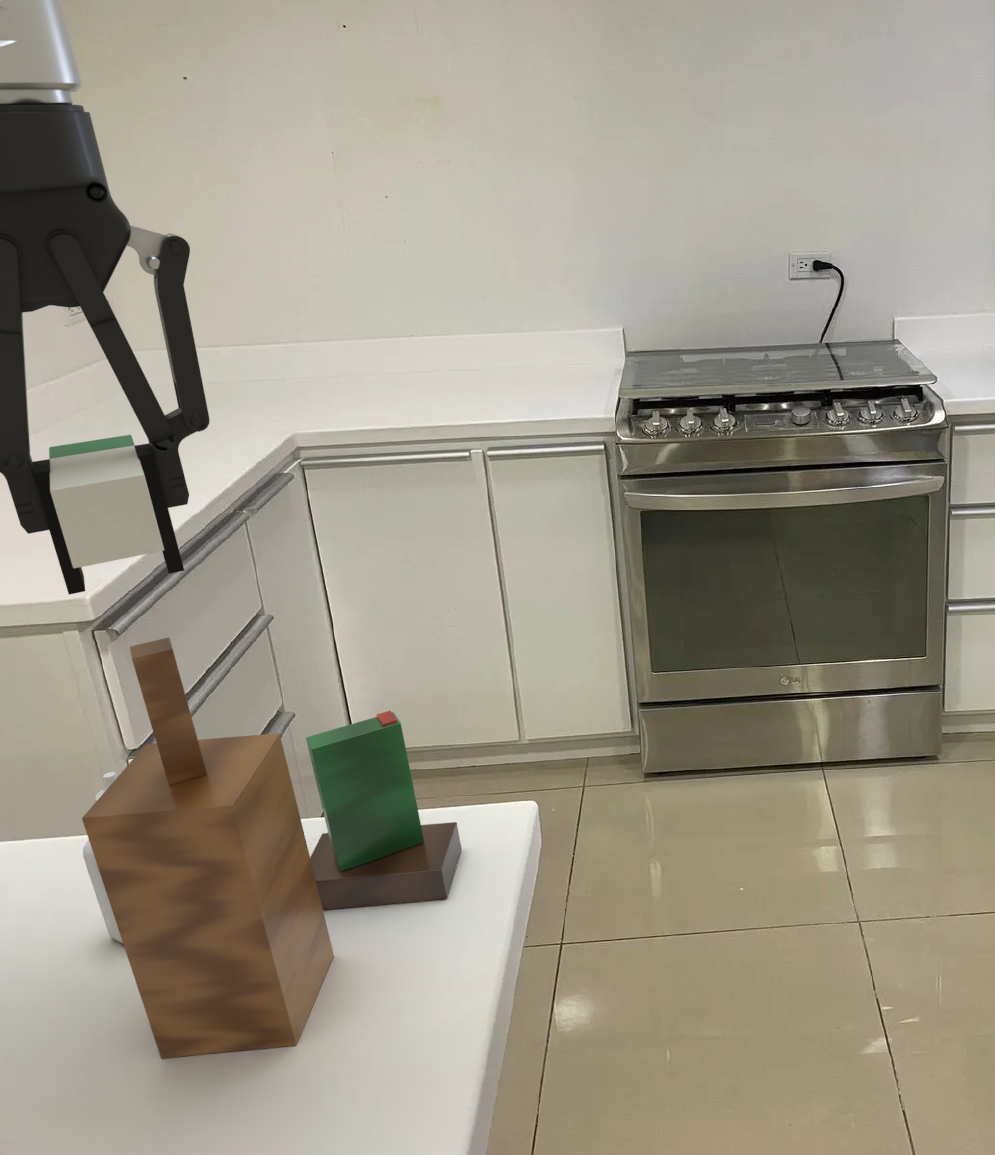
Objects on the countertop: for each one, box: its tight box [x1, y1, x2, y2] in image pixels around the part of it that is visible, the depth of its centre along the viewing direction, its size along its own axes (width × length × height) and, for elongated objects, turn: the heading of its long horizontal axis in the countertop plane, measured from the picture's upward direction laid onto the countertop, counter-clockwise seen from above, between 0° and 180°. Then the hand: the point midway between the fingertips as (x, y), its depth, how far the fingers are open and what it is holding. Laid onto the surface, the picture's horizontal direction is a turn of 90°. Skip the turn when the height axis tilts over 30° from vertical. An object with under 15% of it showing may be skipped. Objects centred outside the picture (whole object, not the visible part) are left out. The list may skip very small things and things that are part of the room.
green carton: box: [305, 710, 424, 872], centre depth 80 cm, size 6×2×10 cm, turn 122°
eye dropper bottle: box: [82, 771, 123, 944], centre depth 77 cm, size 4×6×12 cm
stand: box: [81, 637, 335, 1059], centre depth 67 cm, size 8×8×25 cm
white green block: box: [48, 434, 164, 568], centre depth 59 cm, size 10×4×4 cm, turn 31°
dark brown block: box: [310, 821, 462, 911], centre depth 82 cm, size 10×6×2 cm, turn 94°
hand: (125, 574), depth 60 cm, fingers closed on white green block, 4 cm apart
